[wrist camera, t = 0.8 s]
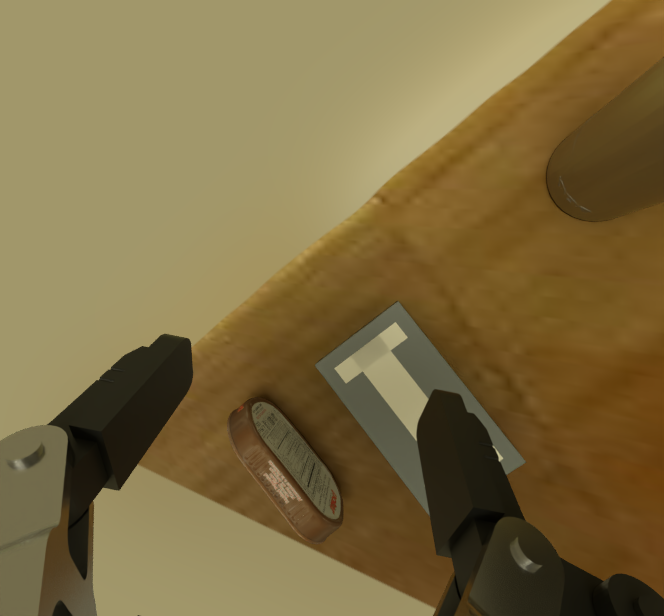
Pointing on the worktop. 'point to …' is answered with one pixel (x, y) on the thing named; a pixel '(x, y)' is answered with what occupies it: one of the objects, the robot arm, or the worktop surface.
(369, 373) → the letter board
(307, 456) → the tin
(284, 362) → the worktop surface
